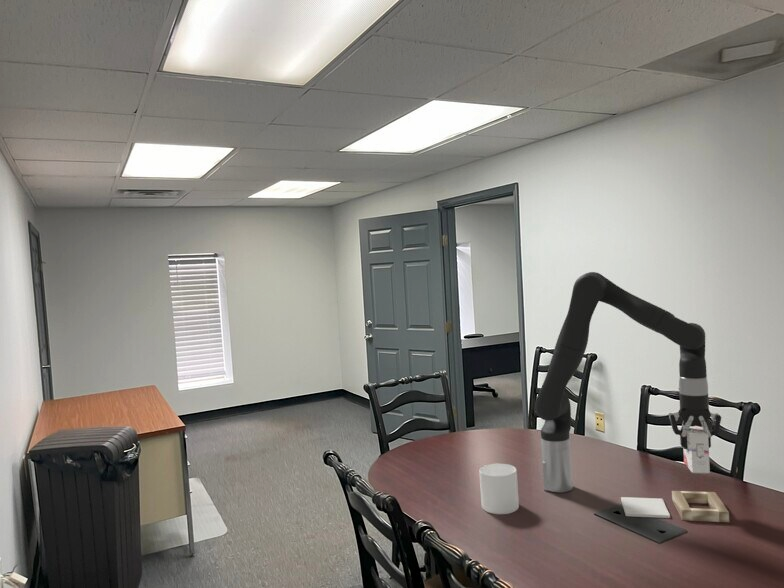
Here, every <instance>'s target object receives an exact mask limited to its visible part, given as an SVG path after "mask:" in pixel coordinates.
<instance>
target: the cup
mask: <svg viewBox="0 0 784 588" xmlns="http://www.w3.org/2000/svg"><path fill="white" fill-rule="evenodd" d="M517 473H518V472H517V467H515V466H513V465H511V464H509V463H501V462H500V463H499V462H498V463H488V464H485V465H482V466H481V467H480V468H479V470H478V474H479V485H480V487H479V488H480V501H481V508H482V510H483V511H485V512H487V513H490V514H493V515H508V514H512V513H514V512H516V511H517V510H519V507H520V502H519V487H518V485H519V484H518V474H517Z"/></svg>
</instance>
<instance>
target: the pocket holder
mask: <svg viewBox="0 0 784 588" xmlns="http://www.w3.org/2000/svg"><path fill="white" fill-rule="evenodd" d="M671 500H672V503H673V505H674V507H675V509H676V510H677V512H678V514H679V517H680V518H681V520H682V521H692V522H696V521H697V522H716V523H730V512H729V510H728V508H727V507H726V506H725V504H724V503H723V501H722V500H721V498H720V497H719V496H718V494H717V493H716V492H715V491H690V490H671ZM690 503H691V504H707V505H708V507H709V508H700V507H699V508H698V507H697V508H696V507H695V508H694V507H690V505H689V504H690Z"/></svg>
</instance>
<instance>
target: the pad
mask: <svg viewBox="0 0 784 588" xmlns="http://www.w3.org/2000/svg"><path fill="white" fill-rule="evenodd" d="M620 500H621V504H622V508H623V511H624V515H625V517H636V518H637V517H640V518H658V519H659V518H660V519H671V514H670V512H669V511H668V507H667V506H666V504H665V502H664V501H665V500H664V499H663V498H656V497H654V498H653V497H652V498H650V497H632V496H631V497H627V496H624V497H623V496H621V497H620Z"/></svg>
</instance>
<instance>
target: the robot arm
mask: <svg viewBox="0 0 784 588" xmlns="http://www.w3.org/2000/svg"><path fill="white" fill-rule="evenodd" d="M571 293H572V294H571V297H570V302H569V307H568V312H567V314H566V317H565V320H564V321H563V323H562V326H561V329H560V331H559V334H558V336H557V337H558V338H557V339H556V343H555V346H554V349H553V353H552V356H551V359H550V362H549V366H548V369H547V372H546V375H545V378H544V380H543V383H542V385H541V388H540V390H539V392H538V394H537V396H536V399H535V403H534V409H535V412H536V414H537V417H539V418H540V419H541V420H543V421H544V424H543V426H541V427H542V428H541V429H540V439H541V440H540V441H541V455H542V463H541V465H542V477H543V490H544V491H548V492H552V493H553V492H554V493H567V492H570V491H571V490H573V477H572V476H573V475H572V473H573V472H572V462H571V461H572V460H571V446H570V445H571V444H570V441H571V440H570V431H571V429H572V413H571V412H572V411H571V410H572V408H571V400H570V398H569V395H568V394H567V393H566V392H565V390H566V388H567V385H568V384H569V382H570V380H571V379H572V377H573V376H574V374H576V372H577V370H578V368H579V367H580V365H581V363H582V360H583V359H584V356H585V352H586V349H587V346H588V342H589V336H590V335H589V334H590V325H591V322H592V321H591V320H592V318H593V315H594V312H595V311H596V307H597V305H598V304H599V302H601V303H605V304H607V305H609V306H611V307H613V308H615V309H617V310H618V311H621V312H622V313H624V314H625V315H626V316H628V317H629V318H630V319H632V320H633V321H635V322H636V323H638V324H639V325H641V326H643V327H645V328H647V329H649V330H652V331H654V332H655V333H658V334H660V335H661V336H664V337H665V338H667V340H670V341H672V342H673V343H674V344H676V345H678V346H679V353H680V354H679V355H680V357H679V361H678V367H679V368H678V369H679V371H678V372H679V379H678V391H679V392H678V393H679V410H678V412H676V413H675V412H674V413H673V412H669V413H668V417H669V421H670V425H671V429H672V431H673V433H674V434H675V435H679V438H680V439H679V441H680V442H679V443H680V445H681V448H684V449H687V437H686V434H687V431H688V430H689V428H690V427H693V426H698V427H702V428H703V430H704V431H705V428H704V421H705V422H706V423H707V422H708V420H709V419H710V418H711V420H712V425H711V429H709V426H707V430H708V440H709V449H710V448H711V447H712V439H711V438H712V437H713V436H718V434H719V431H720V428H721V427H720V425H721V423H722V416H721V415H720V414H719V413H712V412H710V406H709V405H710V404H709V403H710V402H709V383H708V378H707V375H708V374H707V361H706V357H705V356H706V331H705V330H704V328H703V327H702V326H701V324H698V323H694V322H687V321H684V320H682V319H680V318H678V317H676V316H675V315H674V314H673V313H671V312H670V311H667V310H666V309H664V308H662V307H660V306H658V305H656V304H653V303H651V302H650V301H646V300H645V299H642V298H640V297H638V296H637V295H634V294H632V293H631V292H629V291H627V290H625V289H624V288H622V287H620V286H619V285H617V284H616V283H614V282H612V281H611V280H610V279H608V278H607V277H605V276H604V275H603V274H601V273H599V272H596V271H591V272H590V271H589V272H586V273H584V274H582V275H580V276H579V277H578V278H577V279H576V280H575V282H574V284H573V289H572V292H571ZM679 418H680V419H681V420H682V424H681V428H680V429H679V427H678V424H677V422H678V420H679Z"/></svg>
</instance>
